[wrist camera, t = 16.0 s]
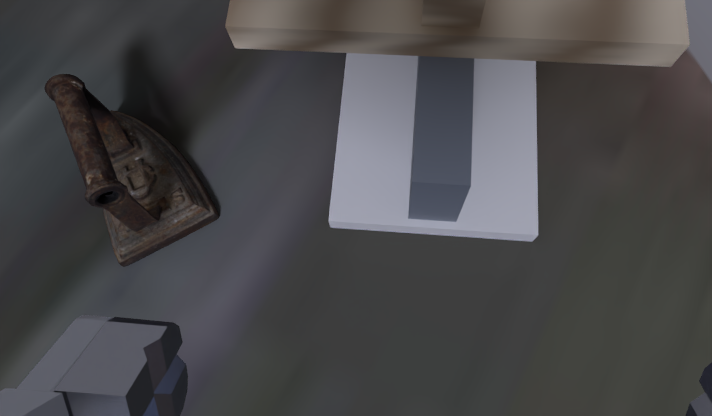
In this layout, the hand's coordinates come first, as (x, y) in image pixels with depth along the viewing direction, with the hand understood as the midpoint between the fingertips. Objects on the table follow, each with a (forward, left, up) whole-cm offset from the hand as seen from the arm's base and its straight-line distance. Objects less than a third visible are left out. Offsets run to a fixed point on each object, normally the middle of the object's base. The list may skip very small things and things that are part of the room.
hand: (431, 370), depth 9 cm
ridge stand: (-14, +13, -26) cm, 32 cm away
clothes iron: (-21, -6, -26) cm, 34 cm away
